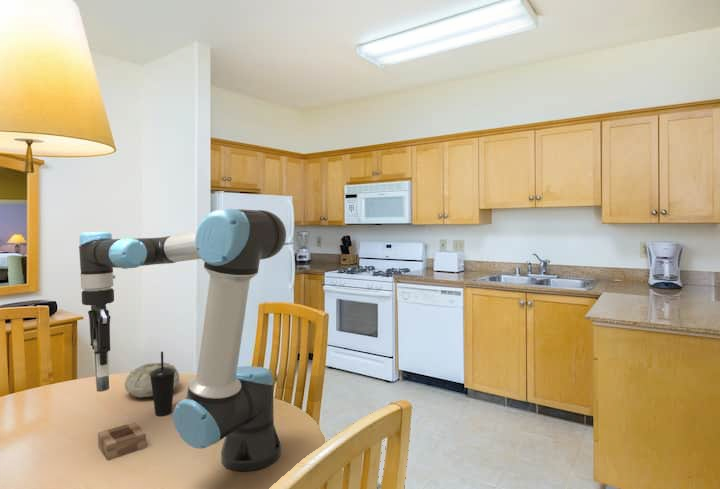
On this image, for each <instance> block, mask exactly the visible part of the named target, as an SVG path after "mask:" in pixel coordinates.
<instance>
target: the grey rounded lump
mask: <svg viewBox="0 0 720 489" xmlns="http://www.w3.org/2000/svg"><path fill="white" fill-rule="evenodd" d="M163 366H164V367H170V368H174V369H175V373H174V387H173V390H174V389H176V388H177V386H178V384H179V382H180V373H179V372H178V370H177V368H176V367H175V365H172V364H170V363H168V362H163ZM159 367H161V362H156V363H155V362H154V363H153V362H151V363H145V364H143V365H141V366H138V367H137V368H135V369H134V370H133V371H130V373H129V375H128V376H127V377H126V379H125V381H124V388H125V390H126V392H128V393H129V394H131V395H132V396H133V397H135V398H136V397H137V398H151V397H153V392H152V384H151V377H150V375H149V373H150V372H151V371H153V370H155V369H157V368H159Z"/></svg>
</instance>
